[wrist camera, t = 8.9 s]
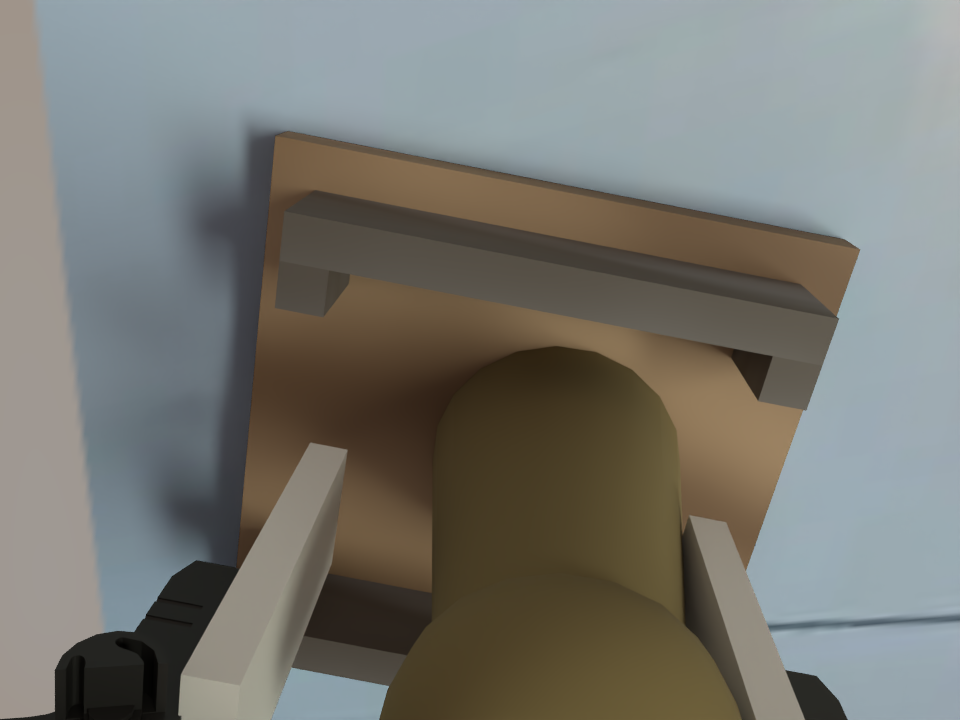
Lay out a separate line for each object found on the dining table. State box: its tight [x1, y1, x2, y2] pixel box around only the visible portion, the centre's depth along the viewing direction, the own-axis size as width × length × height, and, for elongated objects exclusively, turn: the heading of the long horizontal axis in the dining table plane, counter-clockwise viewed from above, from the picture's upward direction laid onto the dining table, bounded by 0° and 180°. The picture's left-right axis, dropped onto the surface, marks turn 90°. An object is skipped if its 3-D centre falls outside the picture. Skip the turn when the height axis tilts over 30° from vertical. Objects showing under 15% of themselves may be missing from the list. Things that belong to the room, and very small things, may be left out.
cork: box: [379, 346, 742, 720], centre depth 15 cm, size 6×6×11 cm
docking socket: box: [236, 131, 860, 686], centre depth 20 cm, size 13×13×4 cm
